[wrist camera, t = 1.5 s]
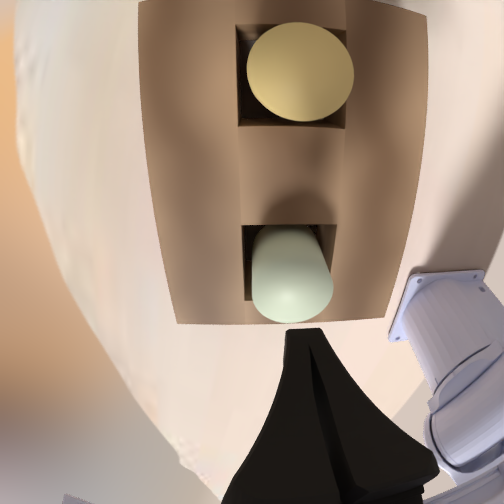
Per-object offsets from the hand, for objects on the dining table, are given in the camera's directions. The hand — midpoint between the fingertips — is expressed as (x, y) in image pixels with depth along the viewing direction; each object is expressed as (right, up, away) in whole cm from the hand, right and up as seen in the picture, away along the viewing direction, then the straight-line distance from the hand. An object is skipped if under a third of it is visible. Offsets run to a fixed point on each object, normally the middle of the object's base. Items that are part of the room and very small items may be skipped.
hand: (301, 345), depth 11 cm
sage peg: (0, +4, +7) cm, 8 cm away
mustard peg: (0, +12, +1) cm, 13 cm away
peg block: (0, +10, +6) cm, 12 cm away
